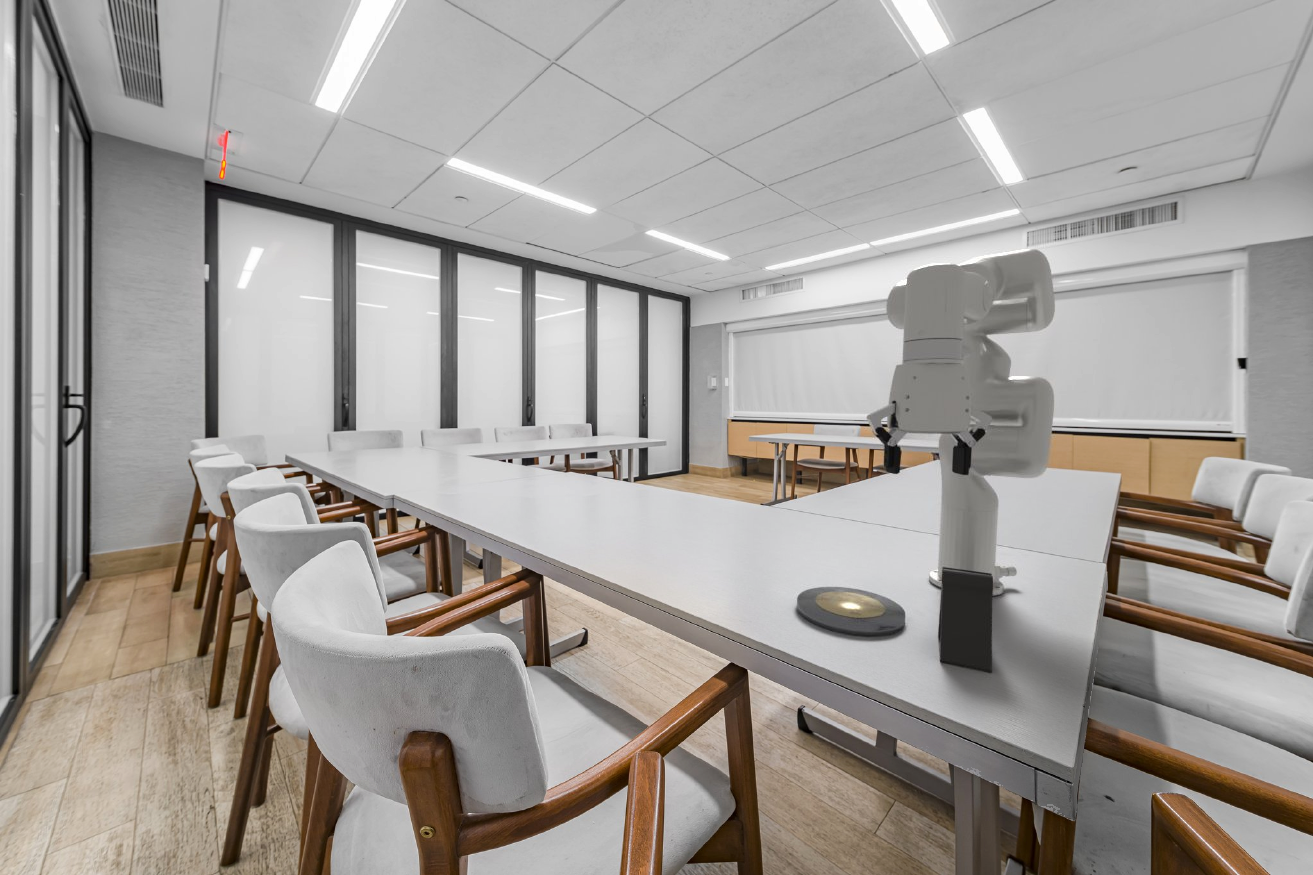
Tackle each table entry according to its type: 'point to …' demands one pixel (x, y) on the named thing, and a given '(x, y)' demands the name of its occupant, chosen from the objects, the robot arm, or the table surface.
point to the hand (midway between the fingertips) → (926, 473)
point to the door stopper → (966, 619)
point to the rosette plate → (851, 611)
